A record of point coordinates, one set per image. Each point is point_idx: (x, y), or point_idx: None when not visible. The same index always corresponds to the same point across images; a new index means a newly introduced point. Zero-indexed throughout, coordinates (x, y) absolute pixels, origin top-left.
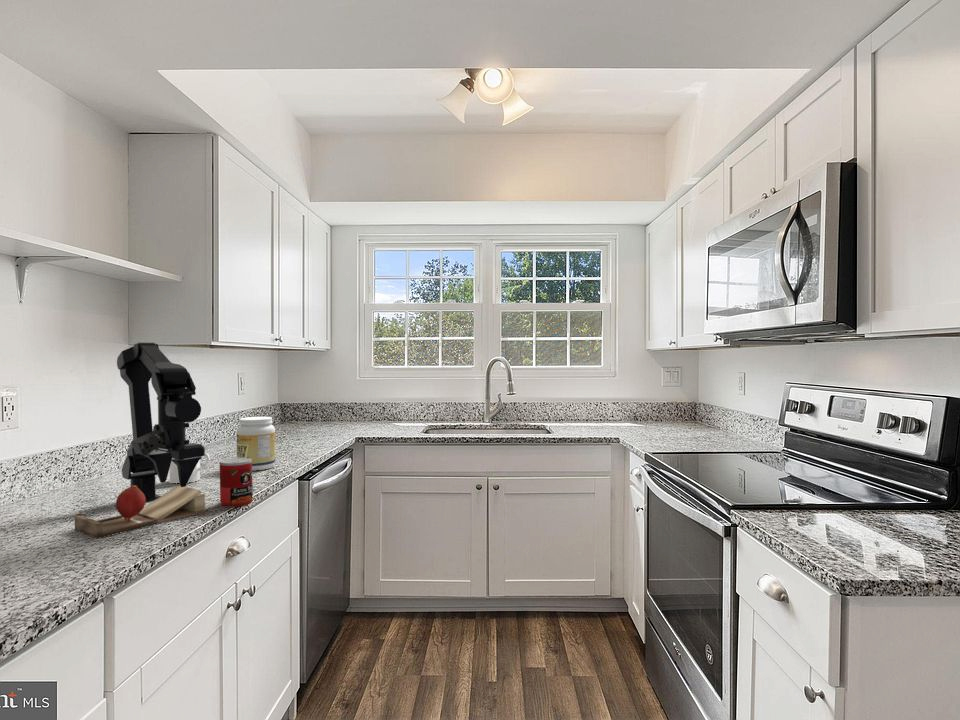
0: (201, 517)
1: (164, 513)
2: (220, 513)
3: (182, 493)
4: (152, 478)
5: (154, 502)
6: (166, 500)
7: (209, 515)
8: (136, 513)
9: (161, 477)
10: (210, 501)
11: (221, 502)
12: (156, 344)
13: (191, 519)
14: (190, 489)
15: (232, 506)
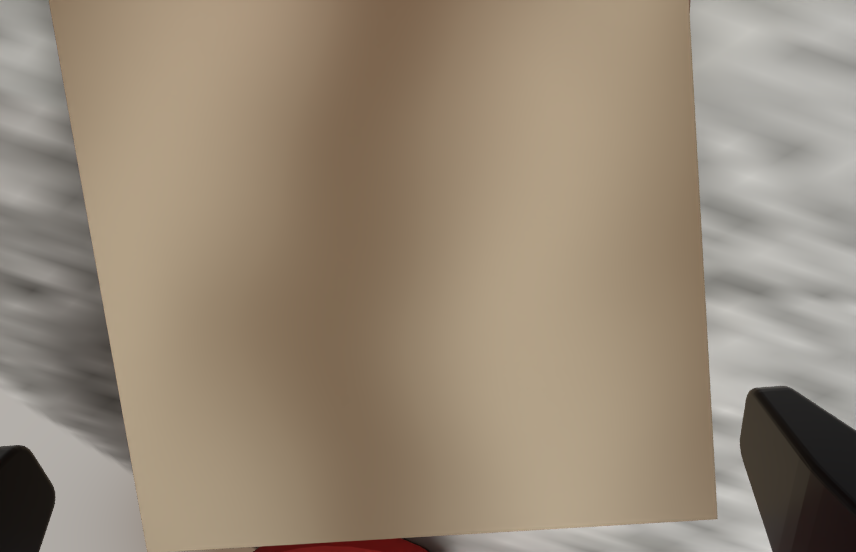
0: (54, 308)
1: (69, 31)
2: (100, 438)
3: (352, 416)
4: None
5: (618, 104)
6: (436, 218)
7: (87, 370)
8: None
9: (792, 475)
10: (580, 529)
11: (344, 546)
12: None
13: (30, 228)
14: (331, 516)
15: (256, 550)
